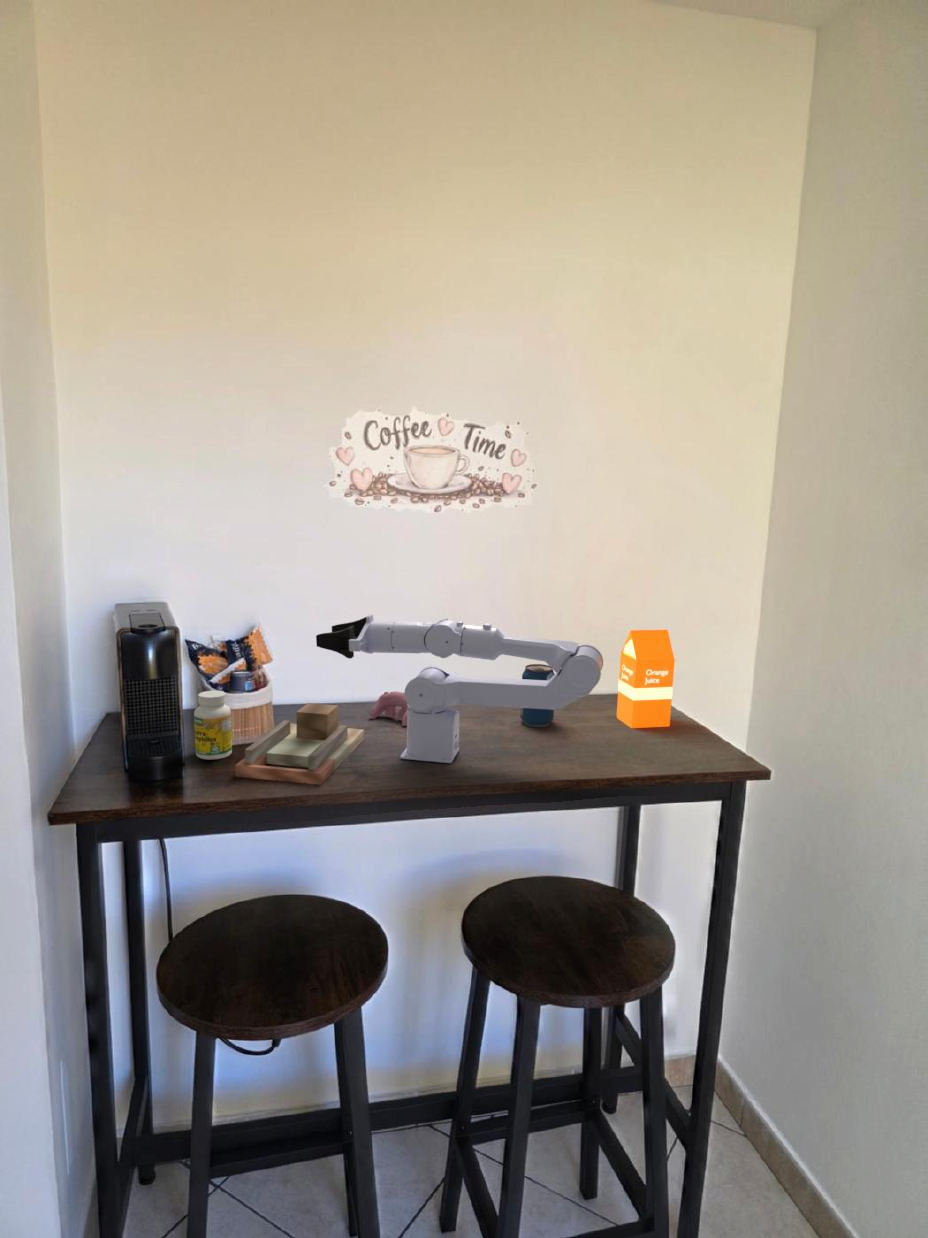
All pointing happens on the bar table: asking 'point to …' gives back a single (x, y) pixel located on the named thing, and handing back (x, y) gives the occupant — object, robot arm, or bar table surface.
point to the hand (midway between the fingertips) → (324, 635)
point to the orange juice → (646, 679)
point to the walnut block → (316, 721)
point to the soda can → (530, 714)
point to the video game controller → (391, 706)
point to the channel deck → (297, 754)
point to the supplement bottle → (212, 726)
